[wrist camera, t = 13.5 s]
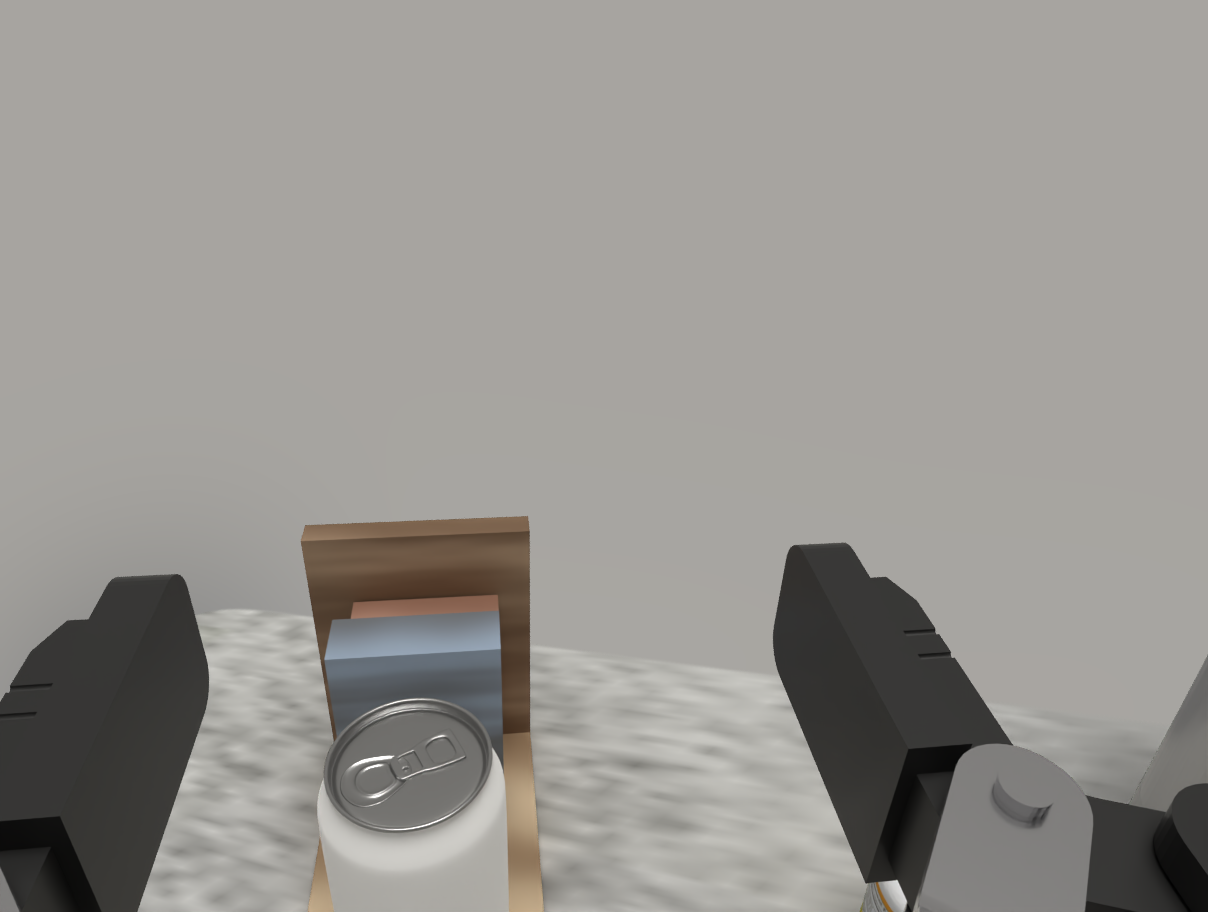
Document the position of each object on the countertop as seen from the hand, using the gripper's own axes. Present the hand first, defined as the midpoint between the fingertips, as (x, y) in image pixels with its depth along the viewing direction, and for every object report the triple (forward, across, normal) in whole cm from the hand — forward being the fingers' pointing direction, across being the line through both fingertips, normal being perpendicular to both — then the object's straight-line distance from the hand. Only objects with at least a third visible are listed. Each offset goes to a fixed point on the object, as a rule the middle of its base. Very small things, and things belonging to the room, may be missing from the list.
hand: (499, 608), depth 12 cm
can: (+11, +3, +28) cm, 31 cm away
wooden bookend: (+16, +3, +30) cm, 34 cm away
